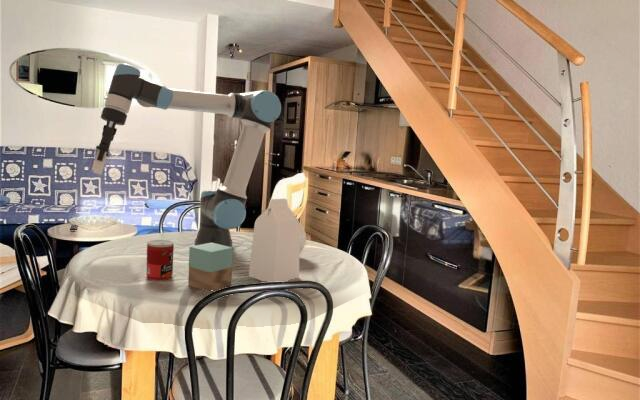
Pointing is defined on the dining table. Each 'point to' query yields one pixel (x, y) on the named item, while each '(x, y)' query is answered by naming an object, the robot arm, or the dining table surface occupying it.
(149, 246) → the canned food
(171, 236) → the dining table surface
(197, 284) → the walnut block
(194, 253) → the teal block
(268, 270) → the milk
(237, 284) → the dining table surface
